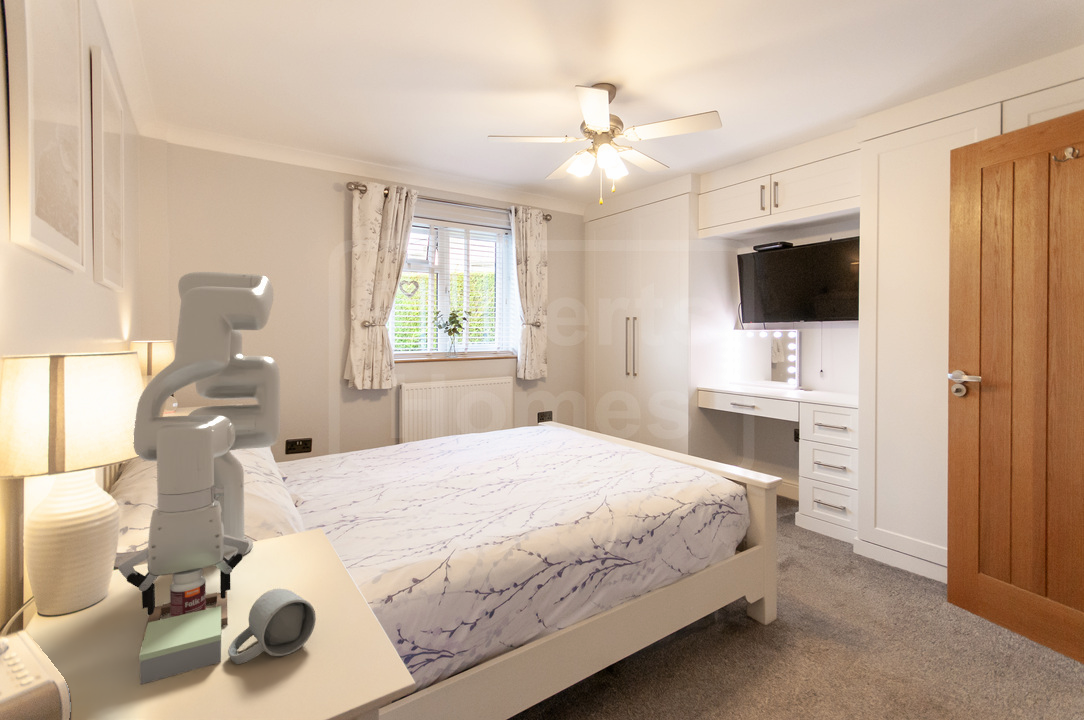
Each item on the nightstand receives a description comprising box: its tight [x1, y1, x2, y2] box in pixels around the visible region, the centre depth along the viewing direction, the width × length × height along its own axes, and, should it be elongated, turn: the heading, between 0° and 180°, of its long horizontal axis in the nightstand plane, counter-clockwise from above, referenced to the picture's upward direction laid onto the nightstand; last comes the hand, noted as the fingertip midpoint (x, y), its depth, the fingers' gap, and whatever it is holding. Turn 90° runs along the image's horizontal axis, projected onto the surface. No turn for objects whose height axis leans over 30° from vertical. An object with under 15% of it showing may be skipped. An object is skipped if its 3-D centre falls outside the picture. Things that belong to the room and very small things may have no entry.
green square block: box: [139, 606, 222, 685], centre depth 73 cm, size 9×9×4 cm
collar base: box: [142, 590, 229, 641], centre depth 82 cm, size 11×11×1 cm
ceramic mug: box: [227, 588, 317, 665], centre depth 75 cm, size 11×8×8 cm
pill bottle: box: [169, 568, 207, 618], centre depth 82 cm, size 5×5×8 cm
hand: (188, 602), depth 82 cm, fingers open, 9 cm apart
